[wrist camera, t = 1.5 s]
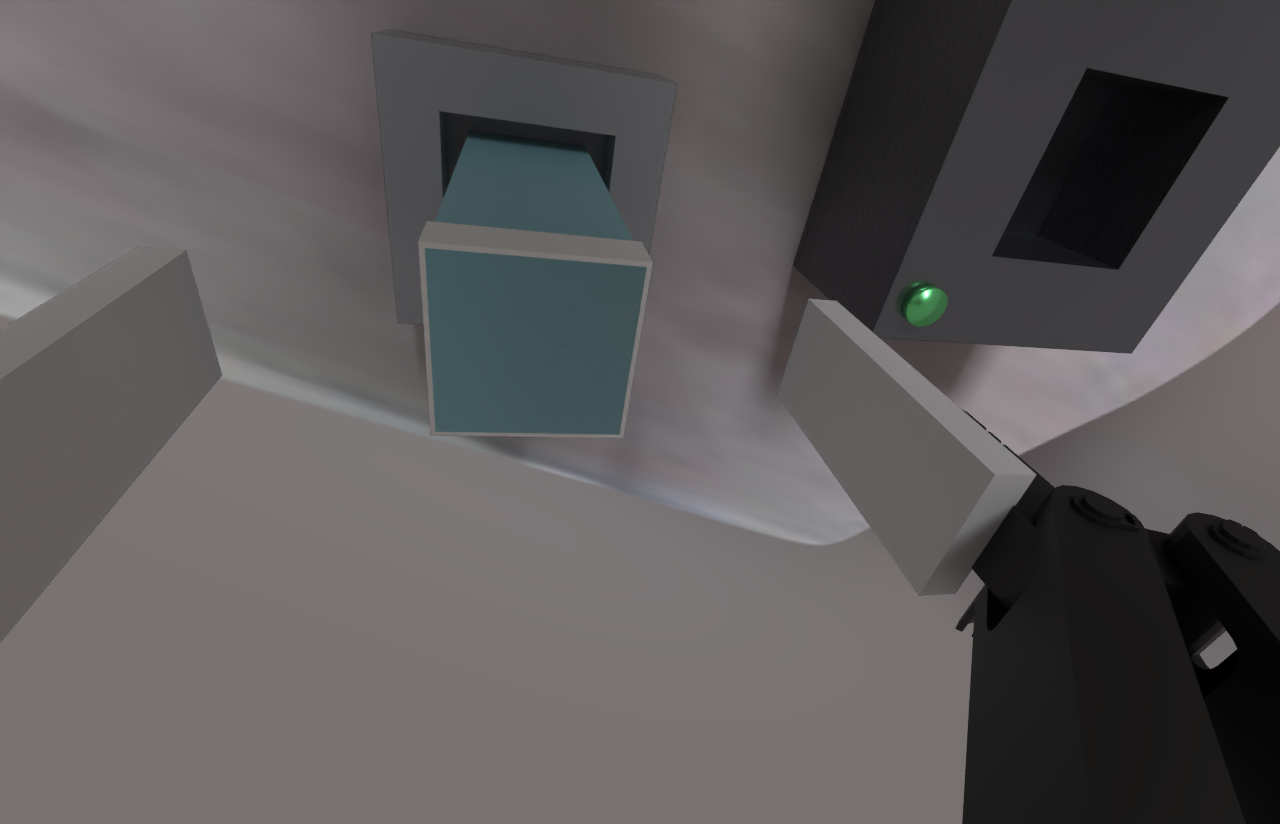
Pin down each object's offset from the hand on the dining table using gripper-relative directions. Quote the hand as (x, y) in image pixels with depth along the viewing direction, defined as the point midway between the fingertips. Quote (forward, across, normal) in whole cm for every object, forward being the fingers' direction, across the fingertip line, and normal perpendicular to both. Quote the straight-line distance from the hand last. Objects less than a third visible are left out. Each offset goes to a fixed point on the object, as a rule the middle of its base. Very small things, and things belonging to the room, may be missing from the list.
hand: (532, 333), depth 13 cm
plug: (+10, 0, 0) cm, 11 cm away
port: (+11, +18, +4) cm, 22 cm away
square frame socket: (+12, 0, 0) cm, 12 cm away
